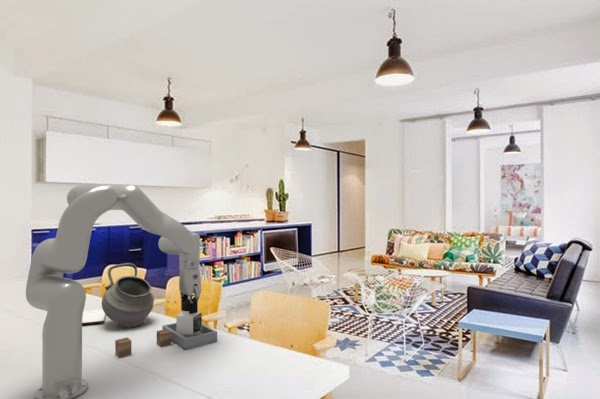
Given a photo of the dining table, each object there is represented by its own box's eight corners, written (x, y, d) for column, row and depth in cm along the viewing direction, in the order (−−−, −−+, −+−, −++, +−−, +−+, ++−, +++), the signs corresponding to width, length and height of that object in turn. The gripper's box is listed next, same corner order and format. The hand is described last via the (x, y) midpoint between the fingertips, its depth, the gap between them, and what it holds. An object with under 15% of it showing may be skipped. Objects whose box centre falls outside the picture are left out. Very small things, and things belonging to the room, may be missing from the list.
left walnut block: (131, 354, 139) (131, 340, 138) (119, 357, 136) (119, 343, 136) (127, 351, 141) (127, 337, 141) (115, 354, 139) (115, 340, 139)
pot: (104, 319, 178) (104, 263, 178) (153, 314, 185) (154, 260, 185) (98, 334, 158) (99, 271, 158) (154, 328, 166) (154, 268, 166)
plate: (103, 325, 171) (103, 320, 171) (53, 330, 164) (53, 325, 164) (106, 313, 188) (106, 308, 188) (60, 317, 181) (60, 312, 181)
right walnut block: (171, 344, 148) (171, 331, 148) (160, 347, 145) (160, 333, 145) (167, 341, 151) (167, 328, 151) (156, 344, 148) (156, 330, 148)
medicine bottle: (193, 335, 150) (193, 303, 150) (176, 334, 152) (176, 302, 152) (201, 329, 158) (202, 298, 157) (185, 328, 159) (185, 297, 159)
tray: (217, 341, 152) (217, 331, 152) (184, 350, 143) (184, 339, 143) (193, 328, 167) (193, 319, 167) (162, 335, 158) (162, 325, 158)
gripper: (209, 266, 151) (208, 314, 151) (188, 260, 164) (188, 305, 164) (190, 268, 146) (190, 318, 146) (170, 262, 159) (170, 308, 159)
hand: (189, 310), depth 155 cm, fingers closed on medicine bottle, 6 cm apart
